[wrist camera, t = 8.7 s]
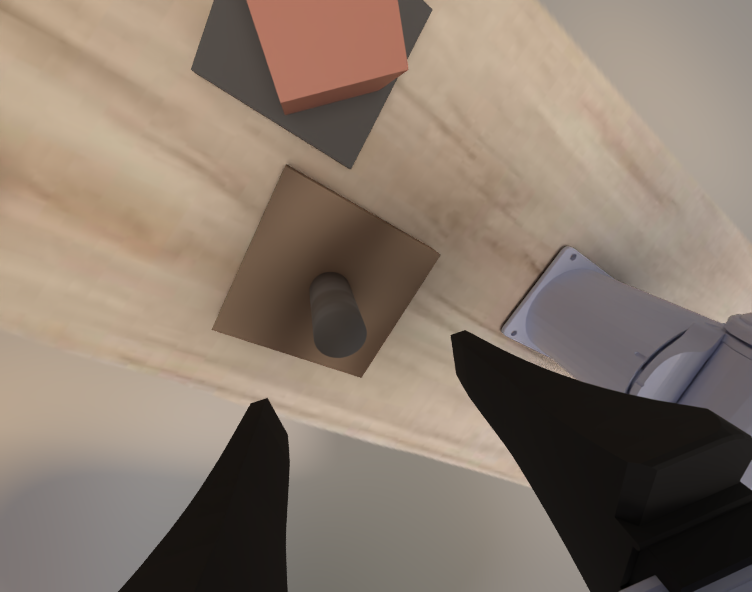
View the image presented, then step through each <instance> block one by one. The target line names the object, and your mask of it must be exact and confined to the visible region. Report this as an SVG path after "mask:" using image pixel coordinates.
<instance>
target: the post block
mask: <svg viewBox="0 0 752 592" xmlns="http://www.w3.org/2000/svg"><path fill="white" fill-rule="evenodd" d="M439 257H440V254H439V253H438V252H436V251H435V250H434V249H432V248H431V247H429V246H427V245H425V244H424V243H422V242H420V241H419V240H417V239H415V238H413V237H412V236H410V235H408V234H406V233H405V232H403V231H401V230H399V229H398V228H396V227H394V226H392V225H391V224H389V223H387V222H385V221H384V220H382V219H380V218H379V217H377V216H375V215H373V214H372V213H370V212H368V211H366V210H365V209H363V208H361V207H359V206H358V205H356V204H354V203H352V202H351V201H349V200H347V199H345V198H344V197H342V196H340V195H339V194H337V193H335V192H333V191H332V190H330V189H328V188H326V187H325V186H323V185H321V184H319V183H318V182H316V181H314V180H312V179H311V178H309V177H307V176H306V175H304V174H302V173H300V172H299V171H297V170H295V169H293V168H292V167H290V166H288V165H286V166H285V168H284V170H283V172H282V174H281V177H280V179H279V181H278V183H277V185H276V188H275V190H274V192H273V194H272V197H271V199H270V201H269V203H268V205H267V208H266V210H265V212H264V214H263V217H262V219H261V221H260V223H259V225H258V228H257V230H256V232H255V234H254V237H253V239H252V241H251V243H250V245H249V248H248V250H247V252H246V254H245V257H244V259H243V261H242V263H241V266H240V268H239V270H238V272H237V274H236V277H235V279H234V281H233V283H232V286H231V288H230V290H229V292H228V294H227V297H226V299H225V301H224V303H223V306H222V308H221V310H220V312H219V314H218V317H217V319H216V321H215V323H214V326H213V328H212V330H214V331H217V332H220V333H223V334H226V335H230V336H233V337H236V338H239V339H242V340H245V341H248V342H251V343H255V344H258V345H261V346H264V347H267V348H270V349H273V350H276V351H279V352H283V353H286V354H289V355H292V356H295V357H298V358H301V359H304V360H308V361H311V362H314V363H317V364H320V365H323V366H326V367H329V368H332V369H336V370H339V371H342V372H345V373H348V374H351V375H354V376H357V377H360V378H362V376H363V374H364V373H365V371H366V370H367V368H368V367H369V365H370V364H371V362H372V360H373V359H374V357H375V356H376V354H377V353H378V351H379V350H380V348H381V347H382V345H383V343H384V342H385V340H386V339H387V337H388V336H389V334H390V333H391V331H392V329H393V328H394V326H395V325H396V323H397V322H398V320H399V319H400V317H401V315H402V314H403V312H404V311H405V309H406V308H407V306H408V305H409V303H410V302H411V300H412V298H413V297H414V295H415V294H416V292H417V291H418V289H419V288H420V286H421V284H422V283H423V281H424V280H425V278H426V277H427V275H428V274H429V272H430V271H431V269H432V267H433V266H434V264H435V263H436V261H437V260H438V258H439Z"/></svg>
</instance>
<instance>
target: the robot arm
mask: <svg viewBox="0 0 752 592" xmlns="http://www.w3.org/2000/svg"><path fill="white" fill-rule="evenodd" d="M571 255H572V257H571ZM570 257H571V258H570ZM512 332H513V333H512ZM502 333H503V334H504V335H505V336H507V337H509V338H511V339H513V340H515V341H517V342H519V343H521V344H523V345H525V346H527V347H529V348H531V349H533V350H535V351H537V352H539V353H541V354H544V355H546V356H548V357H550V358H551V359H553V360H554V361H555V362H556V363H557V364H559V365H560V366H561V367H562V368H563V369H565V370H566V371H567V372H568V373H569V374H571V375H572V376H573V377H574V378H576V379H577V380H575V379H572V378H570V377H567V376H564V375H561V374H558V373H555V372H552V371H550V370H547V369H545V368H542V367H540V366H537V365H535V364H533V363H530V362H528V361H526V360H523V359H521V358H519V357H517V356H515V355H512V354H510V353H508V352H506V351H504V350H502V349H500V348H498V347H496V346H494V345H492V344H490V343H489V342H487V341H485V340H483V339H481V338H479V337H477V336H475V335H474V334H472V333H470V332H468V331H466V330H464V331H461V332H458V333H455V334H453V335H451V341H452V348H453V355H454V362H455V369H456V375H457V377H458V378H459V380H460V382H461V384H462V386H463V387H464V389H465V391H466V392H467V394H468V396H469V397H470V399H471V400H472V402H473V403H474V404H475V406H476V407H477V408H478V410H479V411H480V412H481V414H482V415H483V416H484V418H485V419H486V420H487V422H488V423H489V424H490V426H491V427H492V428H493V430H494V431H495V432H496V434H497V435H498V436H499V438H500V439H501V440H502V442H503V443H504V444H505V446H506V447H507V449H508V450H509V452H510V453H511V455H512V456H513V457H514V459H515V461H516V462H517V464H518V466H519V467H520V469H521V471H522V472H523V474H524V475H525V477H526V479H527V480H528V482H529V484H530V485H531V487H532V489H533V490H534V492H535V494H536V495H537V497H538V499H539V500H540V502H541V504H542V505H543V507H544V509H545V511H546V512H547V514H548V516H549V518H550V519H551V521H552V523H553V525H554V526H555V528H556V530H557V532H558V533H559V535H560V537H561V539H562V541H563V542H564V544H565V546H566V548H567V549H568V551H569V553H570V555H571V557H572V559H573V561H574V562H575V564H576V566H577V568H578V570H579V572H580V573H581V575H582V577H583V579H584V581H585V583H586V584H587V586H588V588H589V590H590V592H752V313H747V314H743V315H742V314H736V315H732V316H730V317H729V318H728V321H727V322H726V324H725V323H719V322H717V321H715V320H712V319H710V318H707V317H705V316H702V315H700V314H698V313H695V312H693V311H690V310H688V309H685V308H683V307H681V306H678V305H676V304H673V303H671V302H668V301H666V300H664V299H661V298H659V297H656V296H654V295H651V294H649V293H646V292H644V291H642V290H639V289H637V288H634V287H632V286H629V285H627V284H625V283H622V282H620V281H617V280H615V279H614V278H613V277H611V276H610V275H609V274H607V273H606V272H605V271H603V270H602V269H601V268H599V267H598V266H597V265H595V264H594V263H593V262H591V261H590V260H589V259H587V258H586V257H585V256H584V255H582V254H581V253H580V252H578V251H577V250H576V249H574V248H572V247H569V246H566V247H564V248H563V249H562V250H561V251H560V253H559V254H558V255H557V256H556V258H555V259H554V260H553V262H552V263H551V264H550V266H549V267H548V268H547V270H546V271H545V272H544V274H543V275H542V276H541V277H540V279H539V280H538V281H537V283H536V284H535V285H534V287H533V288H532V289H531V291H530V292H529V293H528V295H527V296H526V297H525V298H524V300H523V301H522V302H521V304H520V305H519V306H518V308H517V309H516V310H515V312H514V313H513V314H512V316H511V317H510V318H509V319H508V321H507V322H506V323H505V325H504V326H503V328H502ZM289 467H290V459H289V444H288V434H287V432H286V430H285V429H284V427H283V426H282V423H281V422H280V420H279V418H278V416H277V414H276V413H275V411H274V409H273V407H272V405H271V404H270V402H269V400H268V398H266V399H263V400H260V401H257V402H254V403H251V404H250V406H249V408H248V409H247V411H246V413H245V415H244V416H243V418H242V420H241V422H240V423H239V425H238V427H237V429H236V431H235V432H234V434H233V436H232V438H231V439H230V441H229V443H228V445H227V446H226V448H225V450H224V451H223V453H222V455H221V456H220V458H219V460H218V461H217V463H216V465H215V466H214V468H213V470H212V471H211V472H210V474H209V476H208V477H207V479H206V481H205V482H204V483H203V485H202V487H201V488H200V490H199V491H198V492H197V494H196V495H195V497H194V498H193V500H192V501H191V503H190V504H189V505H188V507H187V508H186V509H185V511H184V512H183V513H182V515H181V516H180V517H179V519H178V520H177V522H176V523H175V524H174V526H173V527H172V528H171V529H170V531H169V532H168V533H167V535H166V536H165V537H164V538H163V539H162V541H161V542H160V543H159V544H158V545H157V547H156V548H155V549H154V550H153V552H152V553H151V554H150V555H149V556H148V558H147V559H146V560H145V561H144V563H143V564H142V565H141V566H140V567H139V569H138V570H137V571H136V572H135V573H134V574H133V576H132V577H131V578H130V579H129V580H128V581H127V582H126V584H125V585H124V586H123V587H122V588H121V589H120V590H119V591H118V592H288V590H287V568H286V567H287V566H286V522H287V505H288V487H289Z"/></svg>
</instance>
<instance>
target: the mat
mask: <svg viewBox="0 0 752 592" xmlns="http://www.w3.org/2000/svg"><path fill="white" fill-rule="evenodd" d="M398 5H399V12H400V18H401V25H402V31H403V37H404V44H405V50H406V57H407V59H408V57H409V55H410V53H411V51H412V49H413V47H414V45H415V43H416V41H417V39H418V37H419V35H420V33H421V31H422V29H423V27H424V25H425V23H426V21H427V19H428V18H429V16H430V14H431V12H432V9H431V8H430V7H429V6H428V5H427V4H426V3H425V2H424V1H423V0H398ZM191 70H192V71H193V72H195V73H196V74H198V75H199V76H201V77H203V78H204V79H206V80H207V81H209V82H211V83H212V84H214V85H216V86H217V87H219V88H220V89H222V90H224V91H225V92H227V93H228V94H230V95H232V96H233V97H235V98H236V99H238V100H240V101H241V102H243V103H244V104H246V105H248V106H249V107H251V108H253V109H254V110H256V111H257V112H259V113H261V114H262V115H264V116H265V117H267V118H269V119H270V120H272V121H273V122H275V123H277V124H278V125H280V126H281V127H283V128H285V129H286V130H288V131H289V132H291V133H293V134H294V135H296V136H298V137H299V138H301V139H302V140H304V141H306V142H307V143H309V144H310V145H312V146H314V147H315V148H317V149H318V150H320V151H322V152H323V153H325V154H326V155H328V156H330V157H331V158H333V159H335V160H336V161H338V162H339V163H341V164H343V165H344V166H346V167H347V168H349V169H351V168H352V166H353V164H354V162H355V160H356V158H357V156H358V154H359V152H360V151H361V149H362V147H363V145H364V143H365V141H366V139H367V137H368V135H369V133H370V131H371V129H372V127H373V125H374V123H375V121H376V119H377V117H378V115H379V113H380V111H381V109H382V108H383V106H384V104H385V102H386V100H387V98H388V96H389V94H390V92H391V90H392V88H393V86H394V84H395V82H396V80H397V78H398V77H397V78H396V79H394V80H393V81H392V82H390V83H389V84H387V85H386V86H385V87H383V88H382V89H380V90H379V91H375V92H371V93H367V94H364V95H360V96H356V97H352V98H348V99H345V100H341V101H337V102H333V103H330V104H326V105H322V106H318V107H315V108H311V109H307V110H303V111H299V112H296V113H292V114H288V115H285V114H284V111H283V108H282V106H281V103H280V100H279V97H278V94H277V91H276V88H275V85H274V82H273V79H272V76H271V73H270V70H269V67H268V64H267V61H266V58H265V55H264V52H263V49H262V46H261V43H260V40H259V36H258V33H257V30H256V27H255V24H254V21H253V18H252V15H251V12H250V9H249V6H248V3H247V0H214V2H213V5H212V8H211V11H210V14H209V17H208V20H207V23H206V26H205V29H204V32H203V35H202V38H201V41H200V44H199V47H198V50H197V53H196V56H195V59H194V62H193V65H192V68H191Z"/></svg>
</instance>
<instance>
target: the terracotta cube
mask: <svg viewBox="0 0 752 592" xmlns="http://www.w3.org/2000/svg"><path fill="white" fill-rule="evenodd" d="M247 3H248V6H249V9H250V12H251V15H252V18H253V21H254V24H255V27H256V30H257V33H258V36H259V40H260V43H261V46H262V49H263V52H264V55H265V58H266V61H267V64H268V67H269V70H270V73H271V76H272V79H273V82H274V85H275V88H276V91H277V94H278V97H279V100H280V103H281V106H282V108H283V111H284V114H285V115H288V114H292V113H296V112H299V111H303V110H307V109H311V108H315V107H318V106H322V105H326V104H330V103H333V102H337V101H341V100H345V99H348V98H352V97H356V96H360V95H364V94H367V93H371V92H375V91H379V90H380V89H382V88H383V87H385V86H386V85H387V84H389V83H390V82H392V81H393V80H394V79H396V78H397V77H399V76H400V75H401V74H403V73H404V72H406V71H407V70H408V63H407V57H406V50H405V44H404V37H403V31H402V25H401V18H400V12H399V5H398V0H247Z"/></svg>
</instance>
